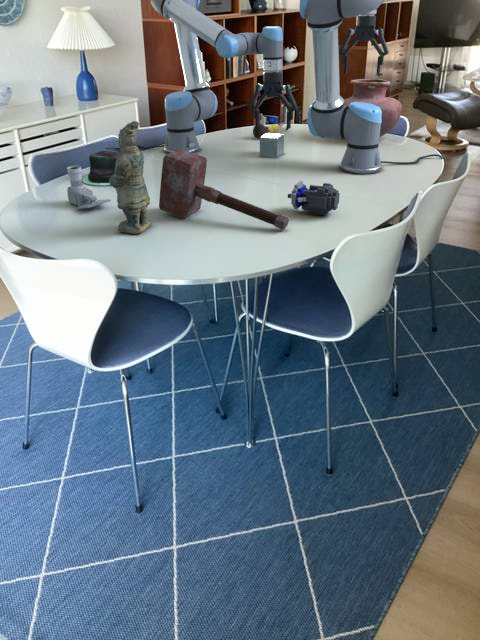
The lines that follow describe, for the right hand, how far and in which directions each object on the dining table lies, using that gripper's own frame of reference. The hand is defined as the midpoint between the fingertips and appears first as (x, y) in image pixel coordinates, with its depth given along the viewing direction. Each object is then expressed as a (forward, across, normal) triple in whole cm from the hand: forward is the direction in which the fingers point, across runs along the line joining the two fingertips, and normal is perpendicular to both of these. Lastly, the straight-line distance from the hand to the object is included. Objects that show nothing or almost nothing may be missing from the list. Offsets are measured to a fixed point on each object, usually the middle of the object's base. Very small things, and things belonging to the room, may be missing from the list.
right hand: (361, 73), depth 231 cm
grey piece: (+29, -62, -111) cm, 130 cm away
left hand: (+18, -28, -29) cm, 44 cm away
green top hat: (+29, -74, -81) cm, 113 cm away
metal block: (+29, -29, -29) cm, 50 cm away
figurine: (+29, -43, +7) cm, 53 cm away
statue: (+29, -36, -123) cm, 131 cm away
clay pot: (+29, +1, +12) cm, 32 cm away
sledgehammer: (+29, -14, -107) cm, 112 cm away
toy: (+29, +9, -91) cm, 96 cm away
